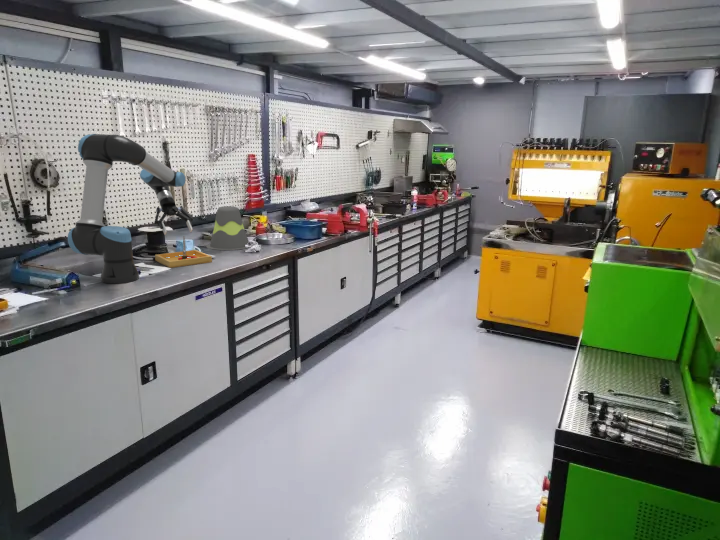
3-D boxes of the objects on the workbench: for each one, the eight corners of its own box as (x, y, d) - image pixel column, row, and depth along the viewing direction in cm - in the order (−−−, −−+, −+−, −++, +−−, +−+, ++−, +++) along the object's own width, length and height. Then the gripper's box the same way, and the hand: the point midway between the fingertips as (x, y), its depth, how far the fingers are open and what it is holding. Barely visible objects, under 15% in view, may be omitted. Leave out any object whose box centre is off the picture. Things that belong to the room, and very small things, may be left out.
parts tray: (169, 268, 235) (169, 261, 234) (155, 260, 249) (154, 254, 248) (212, 262, 249) (211, 256, 248) (196, 255, 264) (195, 249, 263)
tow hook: (185, 257, 256) (176, 260, 247) (184, 233, 254) (175, 235, 245) (200, 258, 255) (191, 261, 246) (199, 234, 252) (190, 236, 243)
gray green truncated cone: (196, 248, 283) (194, 207, 278) (222, 240, 309) (221, 203, 304) (237, 252, 276) (236, 210, 270) (261, 243, 302) (260, 205, 296)
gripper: (187, 204, 268) (199, 234, 261) (141, 206, 252) (153, 238, 245) (190, 195, 263) (203, 226, 256) (143, 197, 247) (155, 229, 240)
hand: (178, 232), depth 250 cm, fingers open, 13 cm apart
